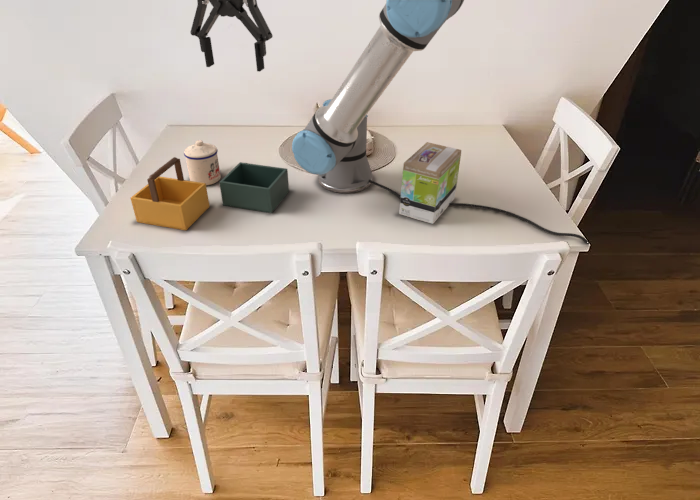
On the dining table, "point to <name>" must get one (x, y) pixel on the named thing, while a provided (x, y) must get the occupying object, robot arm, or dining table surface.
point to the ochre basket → (170, 199)
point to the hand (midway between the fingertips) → (235, 67)
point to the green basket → (254, 187)
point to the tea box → (429, 182)
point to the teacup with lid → (202, 163)
